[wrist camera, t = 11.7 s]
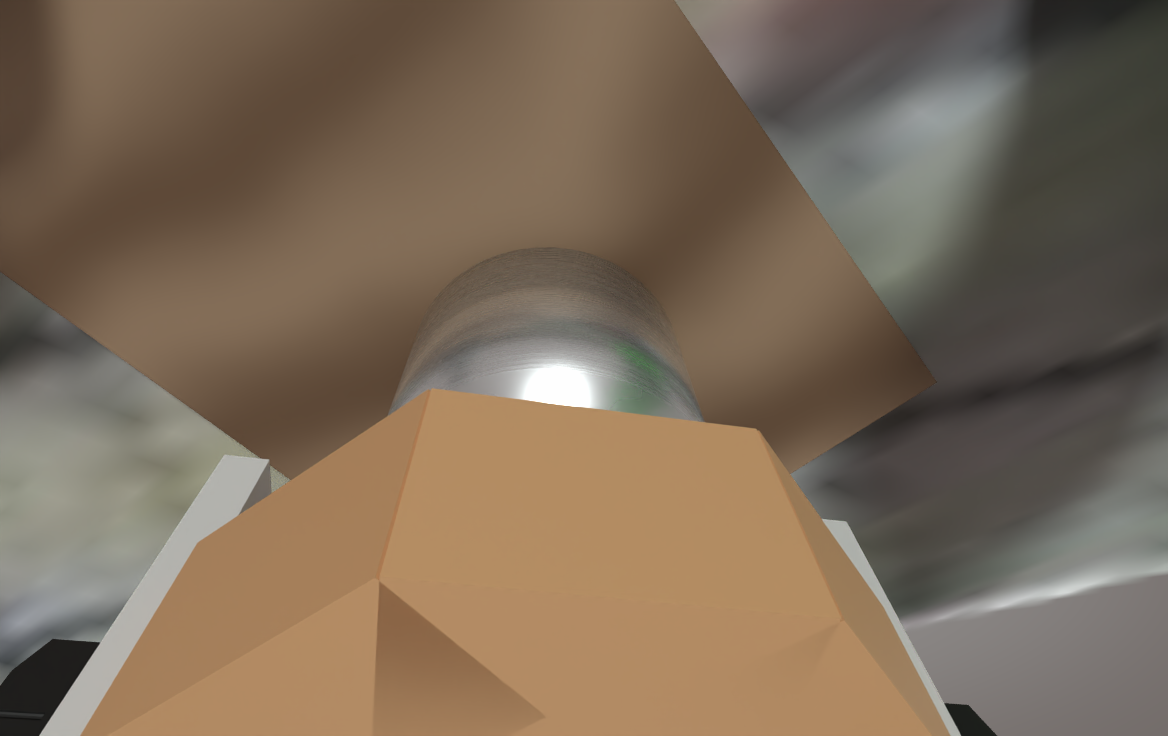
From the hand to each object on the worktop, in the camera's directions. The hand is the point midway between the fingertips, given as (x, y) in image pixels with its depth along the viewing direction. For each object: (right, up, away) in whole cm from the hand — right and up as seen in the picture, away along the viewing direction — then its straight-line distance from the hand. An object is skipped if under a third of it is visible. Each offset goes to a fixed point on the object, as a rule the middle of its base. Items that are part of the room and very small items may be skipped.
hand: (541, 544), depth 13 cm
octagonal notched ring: (0, -1, -2) cm, 3 cm away
